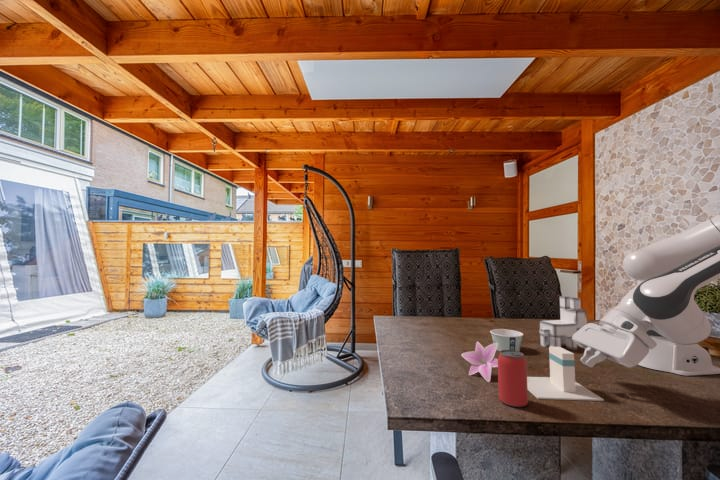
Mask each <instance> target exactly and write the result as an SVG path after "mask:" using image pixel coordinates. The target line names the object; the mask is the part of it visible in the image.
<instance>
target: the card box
mask: <svg viewBox="0 0 720 480" xmlns="http://www.w3.org/2000/svg"><path fill="white" fill-rule="evenodd" d="M548 351H549V352H548V356H549V357H548V358H549V360H548V361H549V377H550V382H551V383H552V384H554V385H555V386H556V387H558V388H559V389H561V390H562V391H563V392H576V388H575V382H576V367H575V365H576V364H575V353H574V352H572V351H569V350H567V349H566V348H563V347H562V346H561V347H548Z"/></svg>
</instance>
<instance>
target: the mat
mask: <svg viewBox="0 0 720 480" xmlns="http://www.w3.org/2000/svg"><path fill="white" fill-rule="evenodd" d="M527 388H528V391H529V392H530V393H531V395H532V396H534V397H535V398H536V399H537V400H557V401H558V400H559V401H560V400H562V401H594V402H596V401H599V402H604V401H605V399H604V398H602V397H601V396H599V395H598V394H596V393H594V392H593V391H592V390H590V389H588V388H587V387H585V386H583V385H582V384H580V383H578V382H577V381H575V388H576V392H563V391H562V390H561V389H559V388H558V387H556V386H555V385H554V384H552V383H551V382H550V376H527Z"/></svg>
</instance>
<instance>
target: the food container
mask: <svg viewBox="0 0 720 480" xmlns="http://www.w3.org/2000/svg"><path fill="white" fill-rule="evenodd" d="M489 333H490V334H491V340H492V344H493V343H498V346H497V349H496V351H498V352H500V351H501V350H514V351H518V352H520V351H521V346H522V339H523V336H524V333H523V332H521V331H518V330H513V329H508V328H507V329H505V328H495V329H491V330H490V331H489Z"/></svg>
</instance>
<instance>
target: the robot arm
mask: <svg viewBox="0 0 720 480" xmlns="http://www.w3.org/2000/svg"><path fill="white" fill-rule="evenodd" d="M622 268H623V271H624V272H625V274H626V275H627V276H629V277H630V278H632V279H635V280H636V281H637V282H636V285H635V286H634V287H632V288H631V289H630V290H629V291H628V292H627V293H626V294H625V295H624V296H623V297H622V298H621V300H620V301H619V303H618V304H617V305H616V306H614V307H612V308H611V309H610V310H609V311H608V312H607V313H606V314H605V315H604V316H603V317H602V318H601V319H600V320H599V321H597V320H596V321H594V322H590V323H589V322H587V324H586V325H584V326H583V327H582V328H580V329H579V330H576V331H577V332H576V333H575V334H574V335H573V336H572V340H573V341H574V342H575V343H576V344H577V347H580V348H583V349H584V352H583V355H582V356H581V358H580V359H579V361H580V362H581V363H582V364H583V365H585V366H588V367H589V368H593V367H595V365H596V364H599V363H602V362H604V361H605V360H606V359H608V360H610V361H613V362H615V363H617V364H620V365H622V366H624V367H626V368H629V369H630V368H634V367H636V366H640V367H643V368H647V369H652V370H657V371H661V372H665V373H666V372H667V373H672V374H676V375H679V376H680V375H681V376H703V375H704V376H705V375H720V367H719V366H716V365H713V363H712V357H711V355H710V352H708V350H707V349H705V348H704V347H702V346H701V345H699V343H702V342H704V341H705V340H707V339H708V338H709V337H710V336H711V334H712V333H713V326H712V324H711V322H710V320H709V318H708V317H707V316H706V315H705V312H704V311H703V310H702V309H701V308H700V306H699V305H698V304H697V302H696V301H695V294H696V293H697V290H699V289H701V288H703V287H705V286H707V285H709V284H711V283H712V282H714V281H717V280H718V279H720V213H719V214H717V215H715V216H713V217H711V218H708V219H706V220H704V221H702V222H699V223H698V224H696V225H694V226H692V227H689V228H687V229H686V230H683V231H681V232H678V233H676V234H673V235H671V236H668V237H666V238H663V239H660V240H658V241H656V242H654V243H650V244H648V245H645V246H643V247H641V248H639V249H636V250H634V251H631V252H630V253H629V254H627V255H626V256H625V257H624V259H623V261H622Z"/></svg>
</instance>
